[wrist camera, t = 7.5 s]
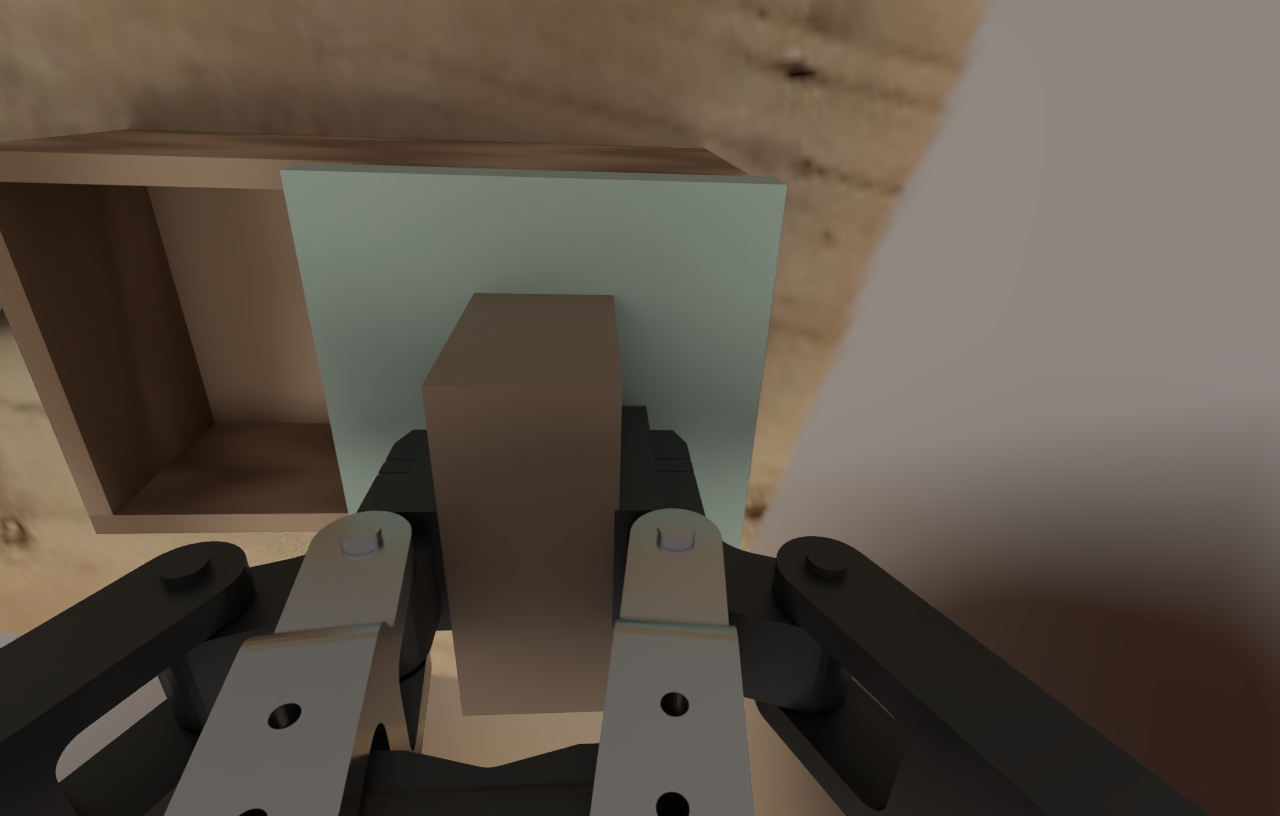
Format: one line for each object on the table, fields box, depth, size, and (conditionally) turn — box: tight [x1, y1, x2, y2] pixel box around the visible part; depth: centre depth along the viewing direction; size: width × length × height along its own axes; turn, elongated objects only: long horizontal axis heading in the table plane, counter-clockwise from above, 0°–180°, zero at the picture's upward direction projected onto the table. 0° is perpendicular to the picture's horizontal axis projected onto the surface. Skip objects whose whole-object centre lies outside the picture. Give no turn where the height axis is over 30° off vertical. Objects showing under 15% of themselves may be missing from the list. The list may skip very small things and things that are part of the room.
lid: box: [280, 163, 787, 716], centre depth 12 cm, size 8×10×5 cm
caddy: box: [0, 130, 747, 534], centre depth 19 cm, size 17×10×6 cm, turn 88°
